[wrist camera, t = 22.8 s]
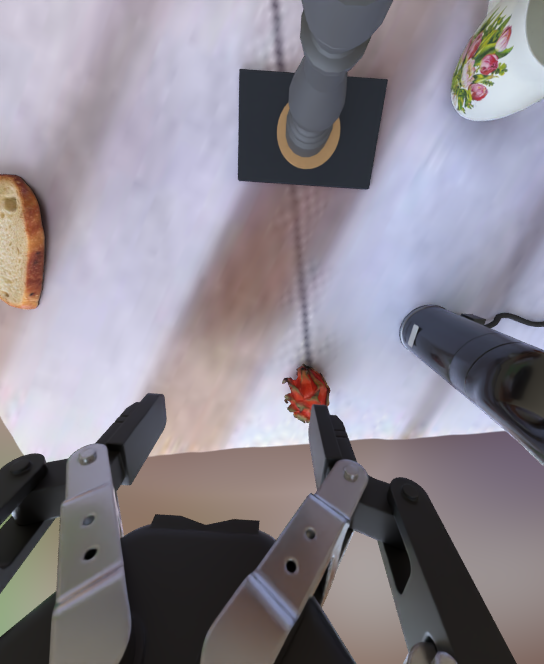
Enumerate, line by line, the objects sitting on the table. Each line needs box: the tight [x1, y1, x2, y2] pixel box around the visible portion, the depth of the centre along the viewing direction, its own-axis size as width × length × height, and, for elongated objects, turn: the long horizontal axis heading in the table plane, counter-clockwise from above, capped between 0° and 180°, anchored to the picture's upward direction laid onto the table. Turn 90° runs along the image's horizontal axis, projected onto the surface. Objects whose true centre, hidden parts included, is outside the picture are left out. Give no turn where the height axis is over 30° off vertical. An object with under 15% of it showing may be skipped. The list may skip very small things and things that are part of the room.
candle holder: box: [286, 0, 393, 157], centre depth 24 cm, size 6×6×25 cm
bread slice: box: [0, 174, 45, 309], centre depth 41 cm, size 18×18×4 cm
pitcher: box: [451, 0, 544, 121], centre depth 27 cm, size 11×18×14 cm, turn 16°
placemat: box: [238, 69, 388, 189], centre depth 36 cm, size 20×13×1 cm, turn 86°
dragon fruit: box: [282, 364, 330, 423], centre depth 48 cm, size 8×8×12 cm
